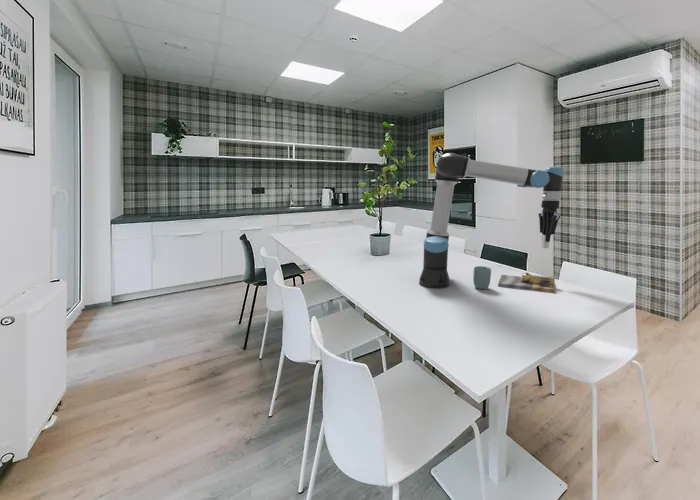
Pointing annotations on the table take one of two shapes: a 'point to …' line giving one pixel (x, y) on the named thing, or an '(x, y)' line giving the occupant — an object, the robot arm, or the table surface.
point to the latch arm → (536, 278)
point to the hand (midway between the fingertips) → (545, 247)
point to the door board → (525, 284)
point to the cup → (482, 277)
